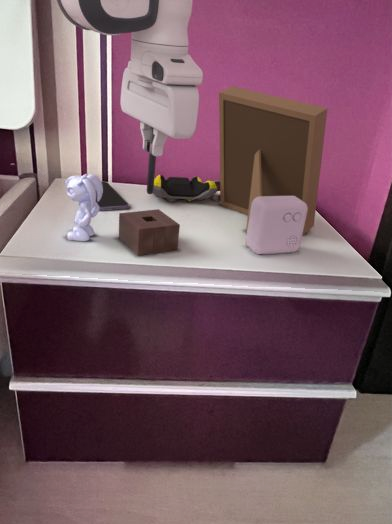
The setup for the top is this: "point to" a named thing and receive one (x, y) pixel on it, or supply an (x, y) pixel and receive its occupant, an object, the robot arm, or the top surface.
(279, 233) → the electronic device
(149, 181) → the stylus
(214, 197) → the wristwatch
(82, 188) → the toy figurine
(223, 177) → the photo frame
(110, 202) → the smartphone
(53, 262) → the top surface
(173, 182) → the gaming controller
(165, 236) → the pen block
